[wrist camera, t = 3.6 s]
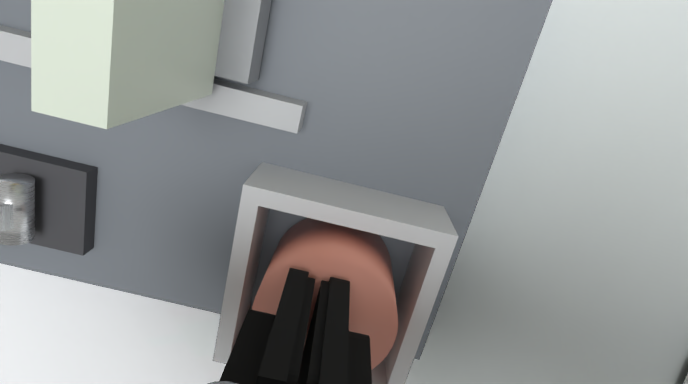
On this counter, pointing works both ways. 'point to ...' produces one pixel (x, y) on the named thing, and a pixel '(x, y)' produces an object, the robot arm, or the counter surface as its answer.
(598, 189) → the counter surface
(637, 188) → the counter surface
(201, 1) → the pale green block
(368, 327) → the button
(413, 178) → the panel
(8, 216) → the toggle
